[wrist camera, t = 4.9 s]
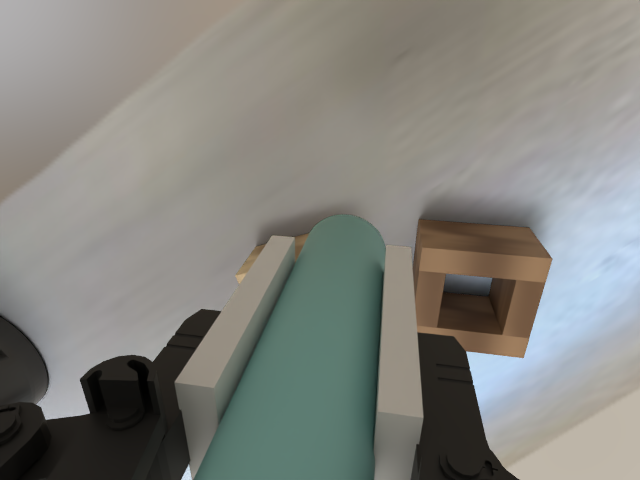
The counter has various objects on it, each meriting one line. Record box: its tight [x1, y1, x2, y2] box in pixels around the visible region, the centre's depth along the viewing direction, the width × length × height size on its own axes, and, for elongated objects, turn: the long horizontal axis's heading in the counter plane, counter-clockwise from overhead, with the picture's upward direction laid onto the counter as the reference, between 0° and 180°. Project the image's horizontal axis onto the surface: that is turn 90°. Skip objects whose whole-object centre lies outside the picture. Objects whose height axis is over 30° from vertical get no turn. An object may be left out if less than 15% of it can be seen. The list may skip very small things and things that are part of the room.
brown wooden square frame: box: [413, 219, 552, 358], centre depth 30 cm, size 8×8×5 cm
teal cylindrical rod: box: [193, 214, 386, 480], centre depth 9 cm, size 3×3×14 cm
